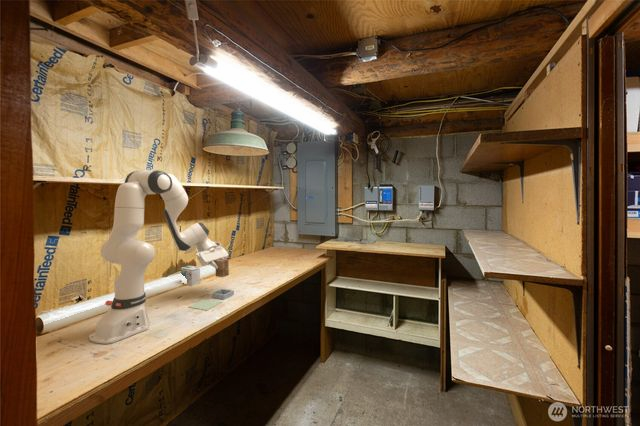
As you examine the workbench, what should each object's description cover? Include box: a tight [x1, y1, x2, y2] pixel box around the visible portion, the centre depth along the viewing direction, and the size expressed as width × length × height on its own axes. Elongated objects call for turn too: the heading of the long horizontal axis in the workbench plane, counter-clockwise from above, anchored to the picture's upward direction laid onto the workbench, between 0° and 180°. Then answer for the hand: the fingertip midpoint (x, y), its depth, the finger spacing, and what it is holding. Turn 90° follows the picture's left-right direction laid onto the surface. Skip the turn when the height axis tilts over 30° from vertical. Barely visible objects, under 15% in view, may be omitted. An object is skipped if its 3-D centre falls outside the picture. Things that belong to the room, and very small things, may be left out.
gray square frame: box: [211, 288, 235, 301], centre depth 173 cm, size 9×9×2 cm
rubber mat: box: [188, 298, 223, 312], centre depth 160 cm, size 12×12×1 cm
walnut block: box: [215, 258, 230, 278], centre depth 171 cm, size 5×5×9 cm
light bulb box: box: [180, 265, 201, 287], centre depth 196 cm, size 11×7×11 cm, turn 62°
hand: (221, 266), depth 171 cm, fingers closed on walnut block, 5 cm apart
